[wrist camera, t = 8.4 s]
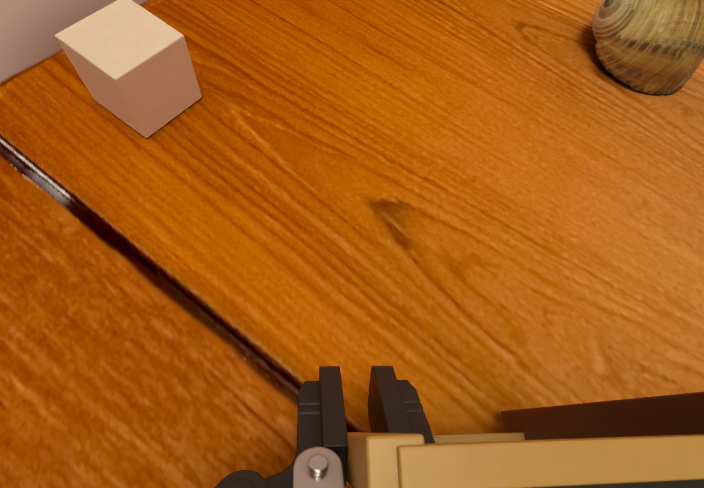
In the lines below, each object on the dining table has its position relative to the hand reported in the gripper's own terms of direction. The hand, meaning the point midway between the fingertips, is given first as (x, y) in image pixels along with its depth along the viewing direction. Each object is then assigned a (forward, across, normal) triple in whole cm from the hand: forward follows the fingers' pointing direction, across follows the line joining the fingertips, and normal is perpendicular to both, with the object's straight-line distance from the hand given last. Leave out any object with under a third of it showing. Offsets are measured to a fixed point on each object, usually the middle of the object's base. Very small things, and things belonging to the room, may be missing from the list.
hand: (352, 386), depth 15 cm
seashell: (+22, -24, -14) cm, 36 cm away
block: (+17, +12, -9) cm, 22 cm away
